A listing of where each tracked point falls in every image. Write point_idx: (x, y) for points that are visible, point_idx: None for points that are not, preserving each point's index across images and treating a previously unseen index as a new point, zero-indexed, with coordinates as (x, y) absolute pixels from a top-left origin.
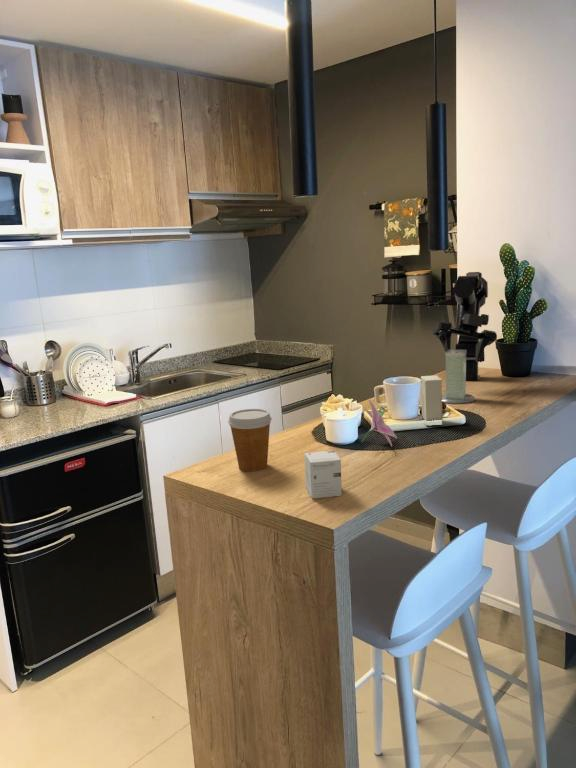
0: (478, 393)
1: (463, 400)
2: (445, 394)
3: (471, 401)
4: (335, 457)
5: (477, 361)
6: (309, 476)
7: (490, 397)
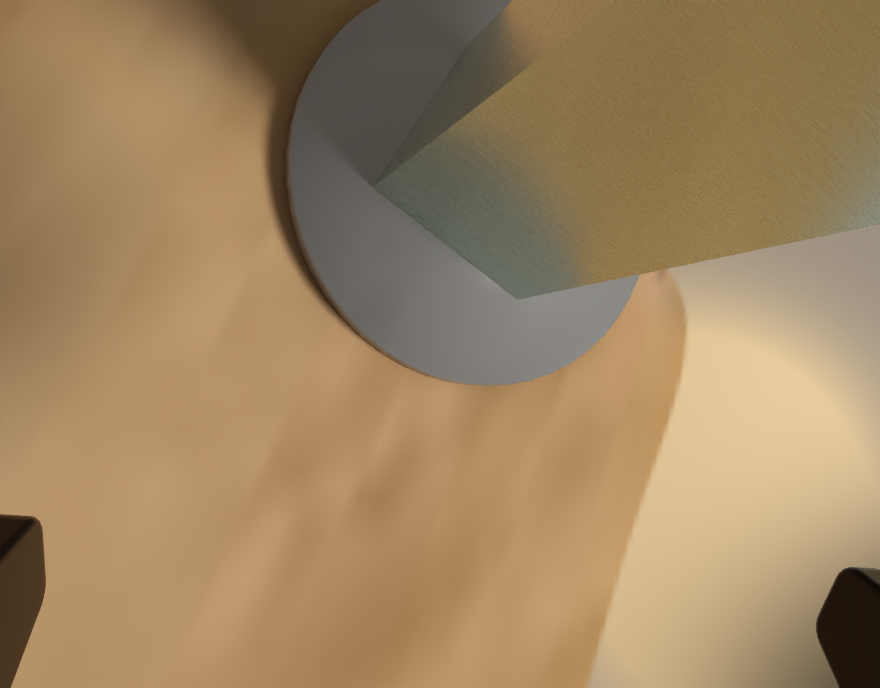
0: (109, 345)
1: (469, 31)
2: (531, 348)
3: (387, 2)
4: None
5: (23, 528)
6: None
7: (64, 86)
